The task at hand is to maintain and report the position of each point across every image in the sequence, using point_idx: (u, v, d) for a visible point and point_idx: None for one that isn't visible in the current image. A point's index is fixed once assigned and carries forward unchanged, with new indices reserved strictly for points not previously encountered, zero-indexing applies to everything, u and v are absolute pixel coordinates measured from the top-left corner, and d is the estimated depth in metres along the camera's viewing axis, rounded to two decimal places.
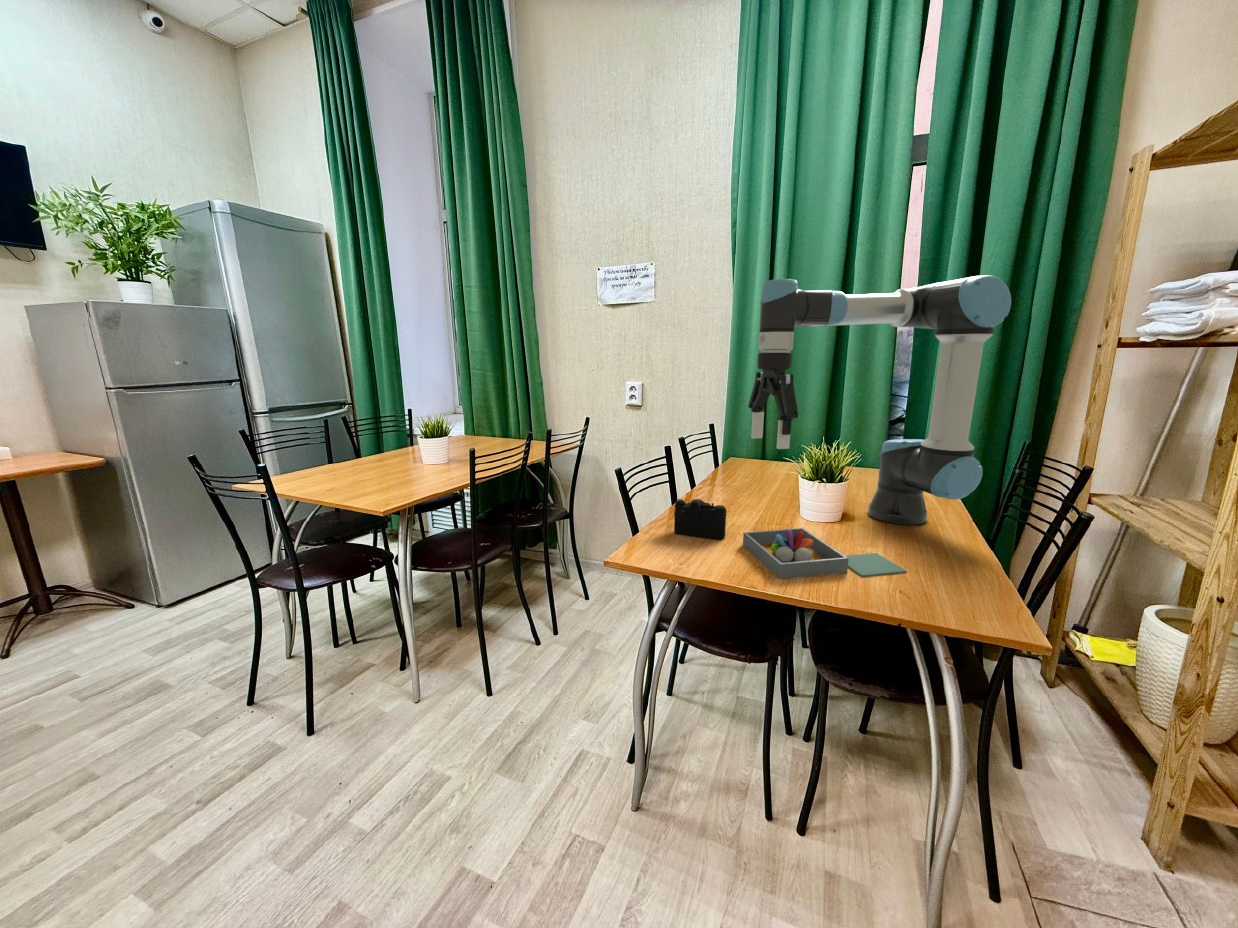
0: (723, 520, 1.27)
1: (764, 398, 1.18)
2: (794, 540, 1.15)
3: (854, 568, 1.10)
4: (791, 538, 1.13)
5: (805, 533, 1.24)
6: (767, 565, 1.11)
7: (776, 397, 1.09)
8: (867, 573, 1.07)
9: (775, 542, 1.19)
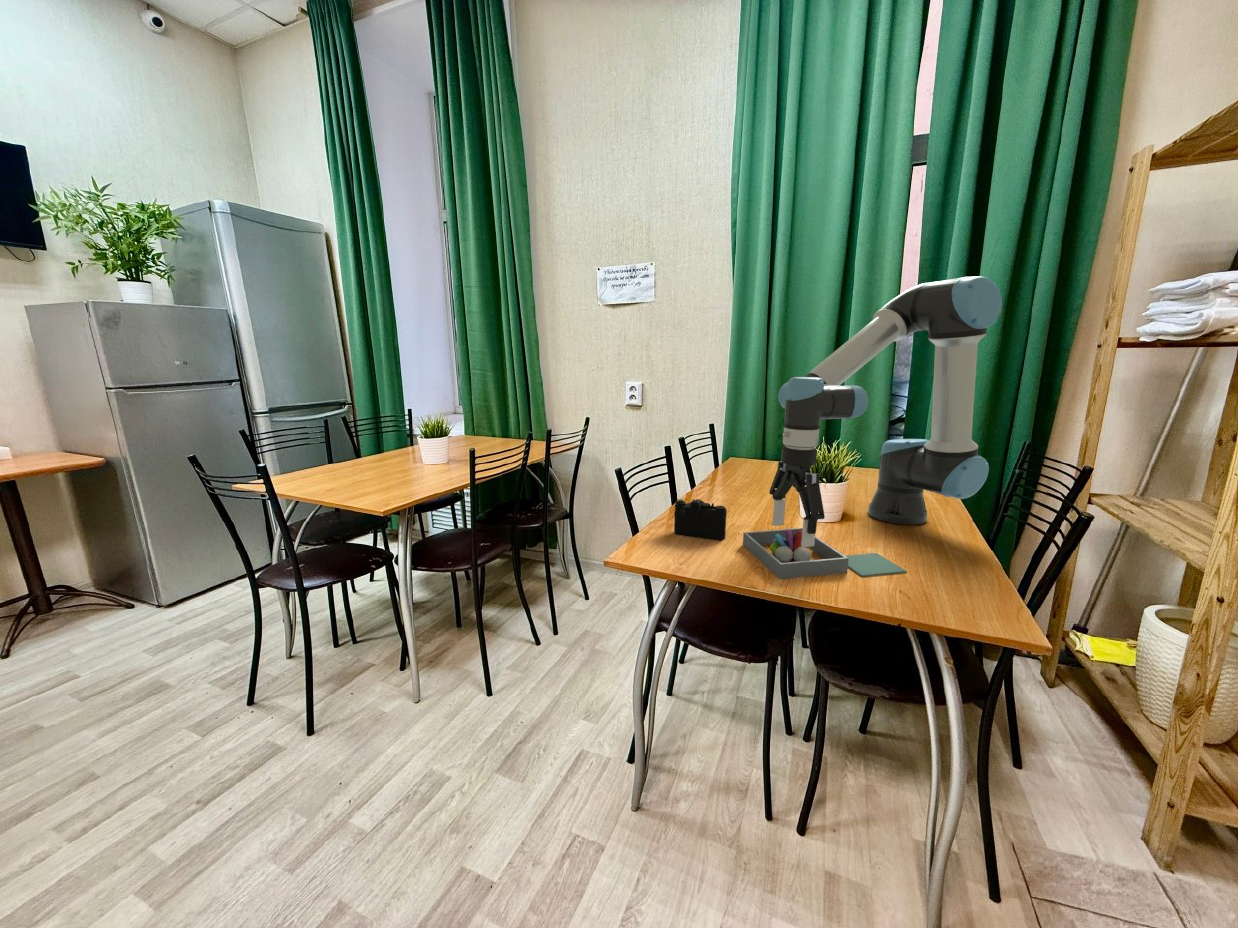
0: (723, 520, 1.27)
1: (787, 488, 1.17)
2: (793, 540, 1.16)
3: (854, 568, 1.10)
4: (790, 538, 1.14)
5: None
6: (767, 565, 1.11)
7: (801, 494, 1.08)
8: (867, 573, 1.07)
9: (774, 542, 1.19)
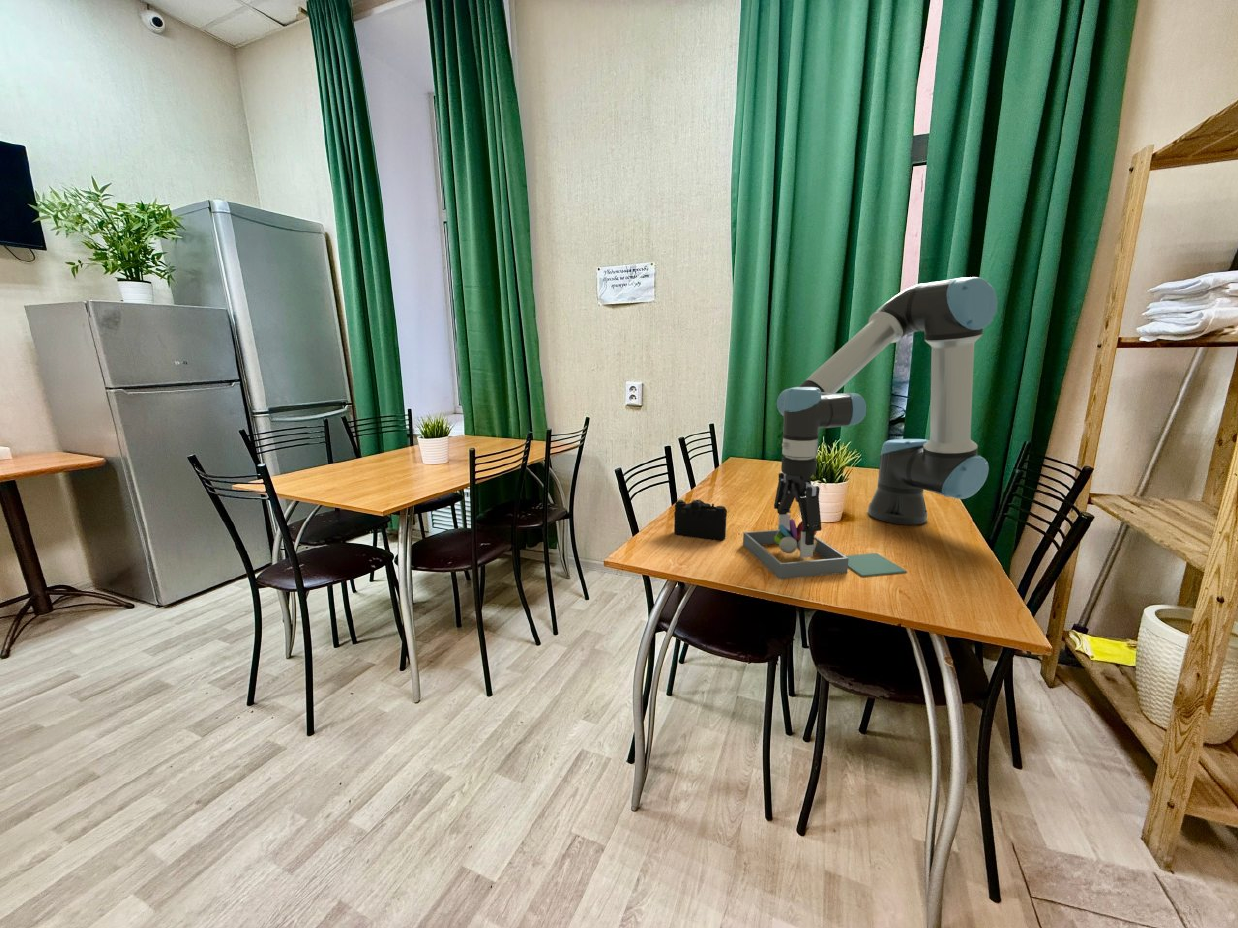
0: (723, 521, 1.26)
1: (790, 499, 1.17)
2: (797, 530, 1.15)
3: (854, 568, 1.10)
4: (794, 528, 1.13)
5: None
6: (767, 565, 1.11)
7: (800, 505, 1.09)
8: (867, 573, 1.07)
9: (778, 533, 1.18)
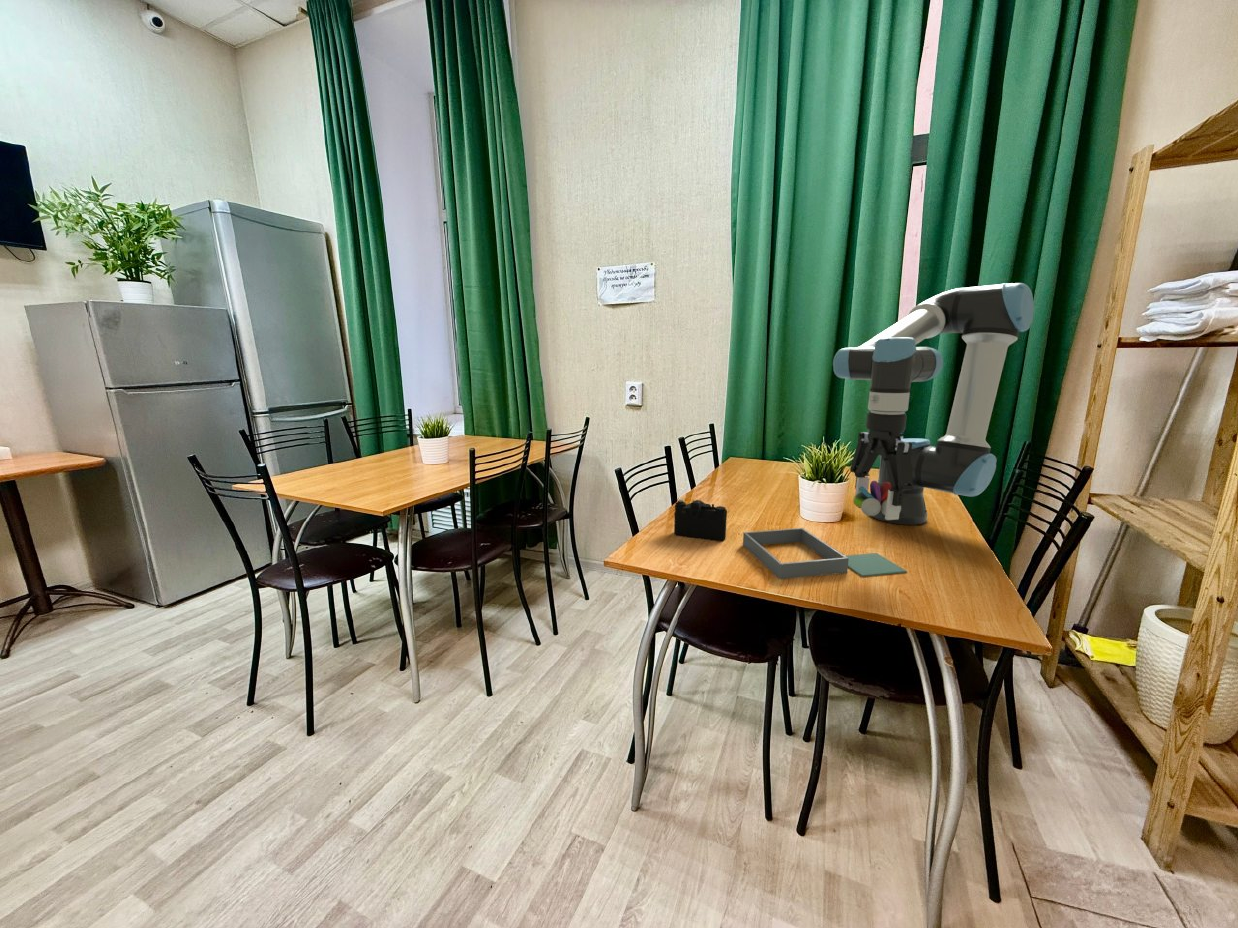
0: (724, 521, 1.26)
1: (871, 460, 1.10)
2: None
3: (854, 568, 1.10)
4: (878, 489, 1.06)
5: (805, 533, 1.24)
6: (767, 565, 1.11)
7: (888, 464, 1.03)
8: (867, 573, 1.07)
9: (857, 496, 1.11)
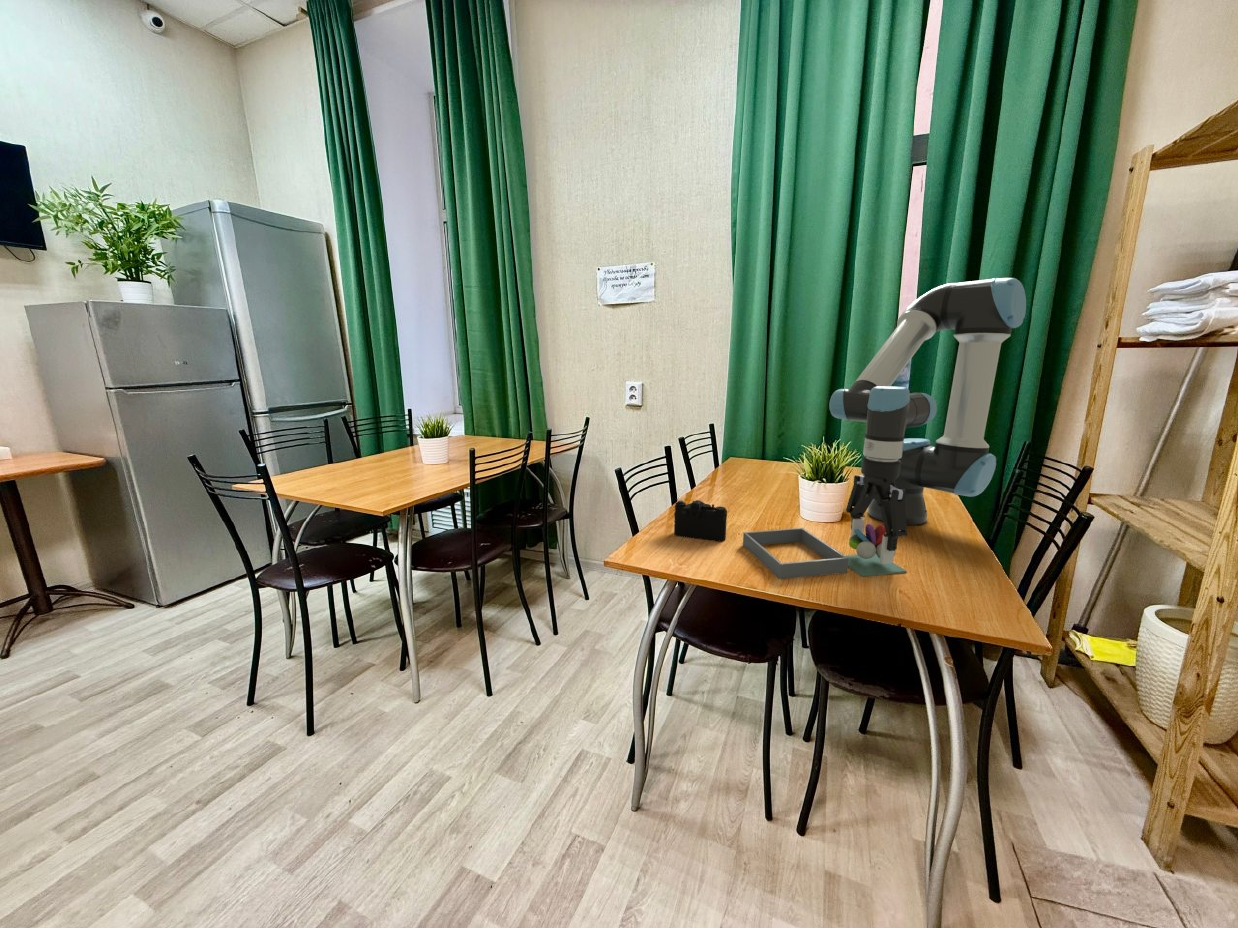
0: (724, 521, 1.26)
1: (866, 503, 1.12)
2: (874, 535, 1.10)
3: (854, 568, 1.10)
4: (873, 533, 1.08)
5: (805, 533, 1.24)
6: (767, 565, 1.11)
7: (883, 509, 1.05)
8: (867, 573, 1.07)
9: (852, 537, 1.14)
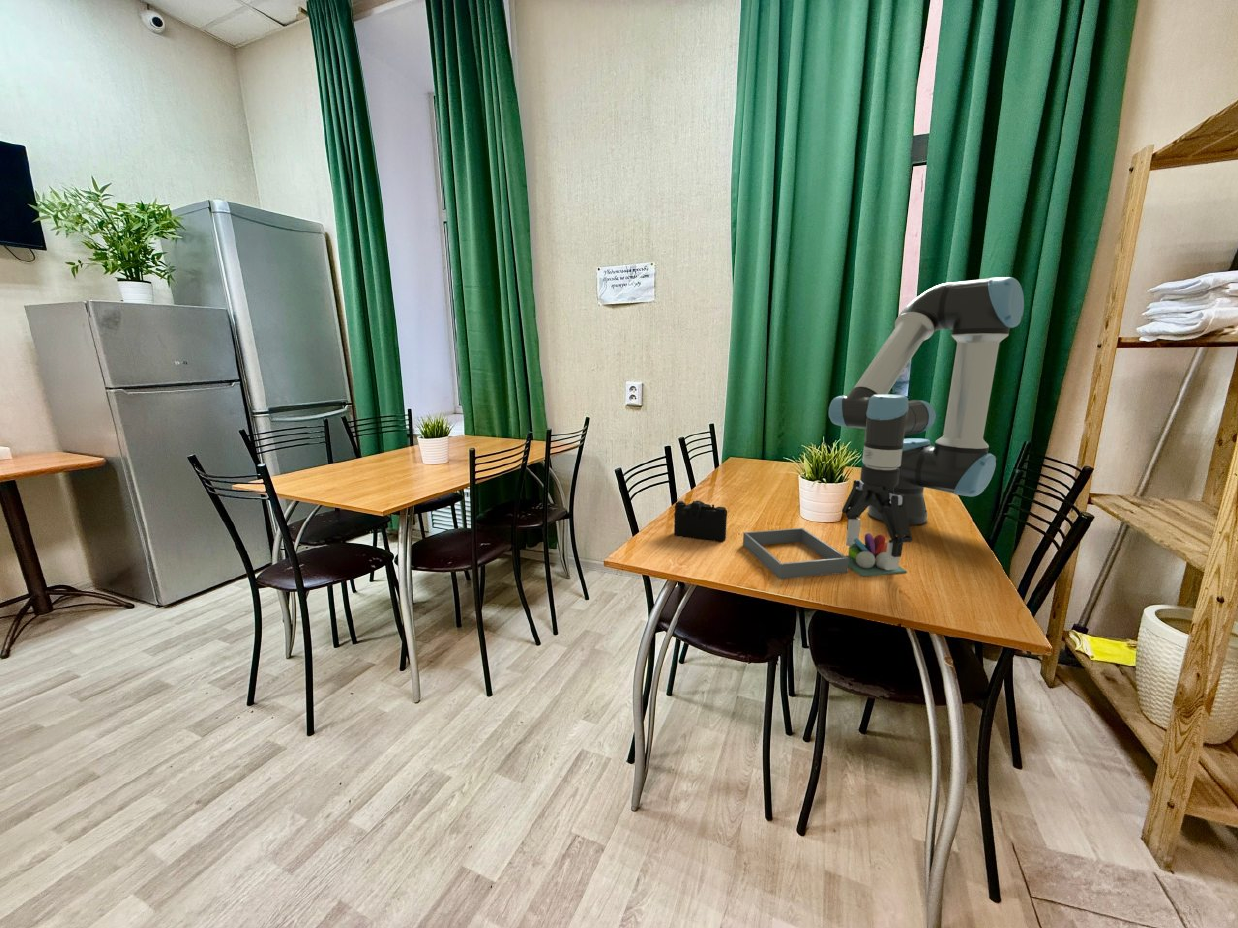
0: (724, 521, 1.26)
1: (863, 507, 1.13)
2: None
3: (854, 568, 1.10)
4: (872, 542, 1.09)
5: (805, 533, 1.24)
6: (767, 565, 1.11)
7: (884, 516, 1.05)
8: (867, 573, 1.07)
9: (852, 546, 1.14)
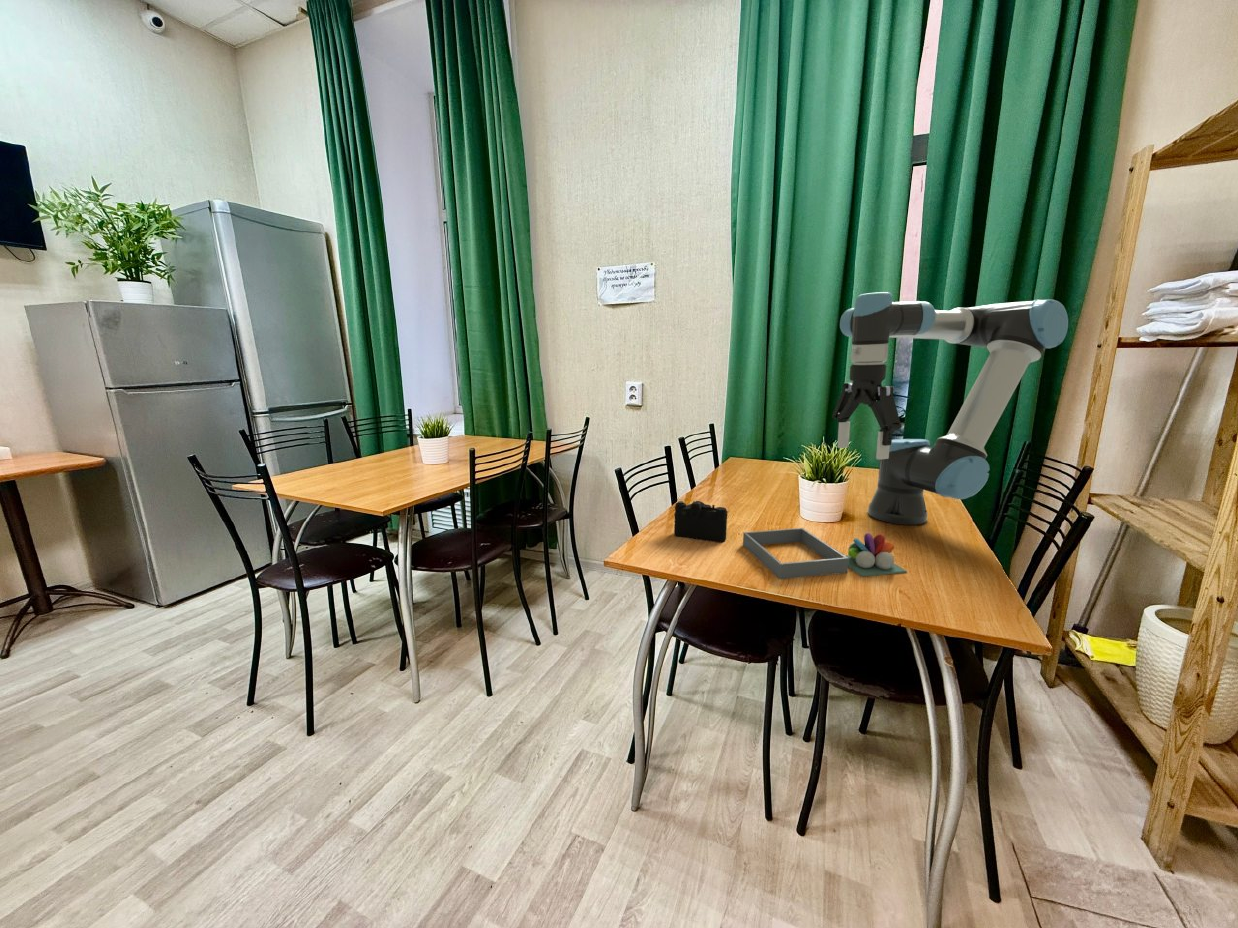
0: (724, 522, 1.25)
1: (853, 408, 1.20)
2: (873, 544, 1.11)
3: (854, 568, 1.10)
4: (872, 542, 1.09)
5: (805, 533, 1.24)
6: (767, 565, 1.11)
7: (874, 408, 1.11)
8: (867, 573, 1.07)
9: (851, 546, 1.14)
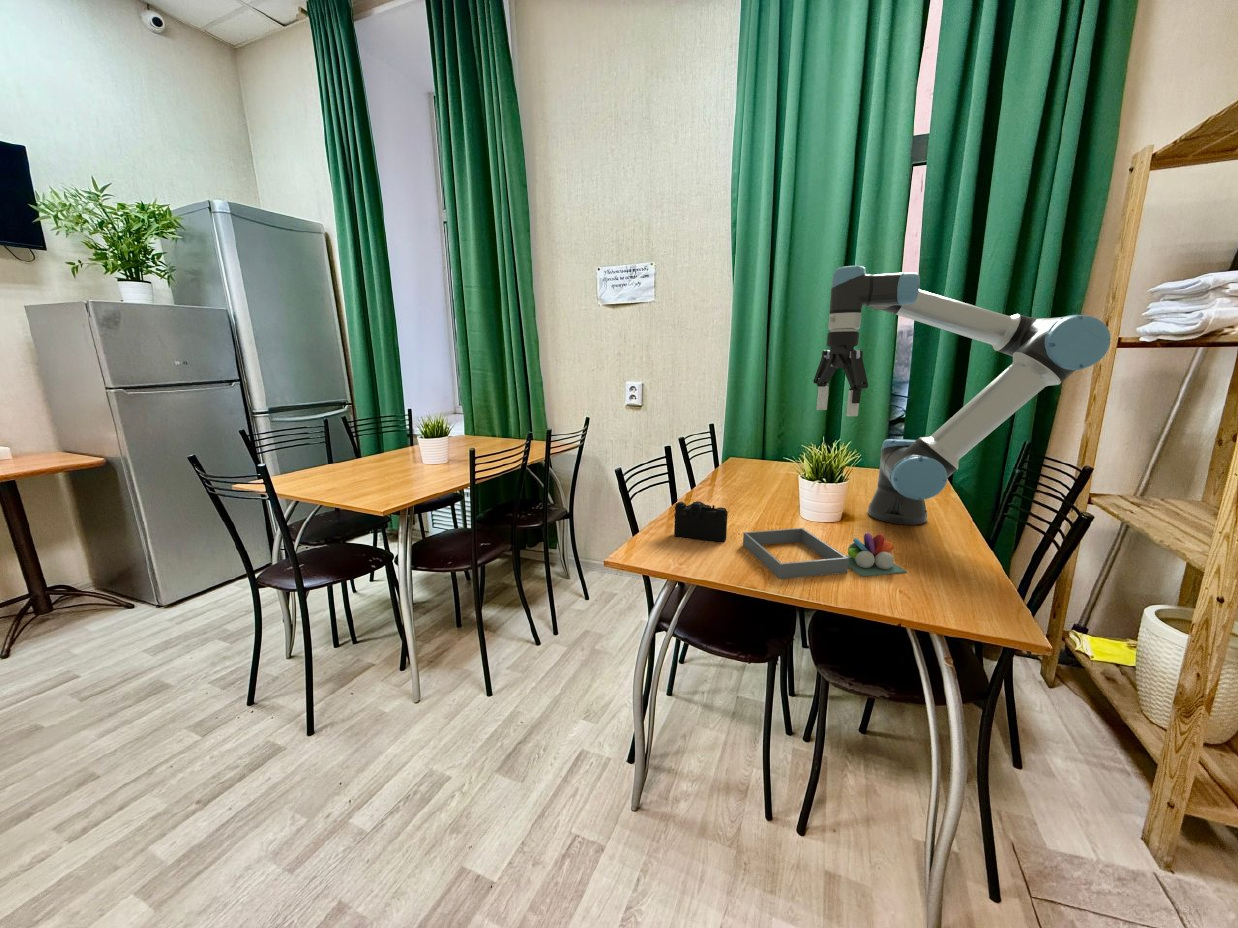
0: (724, 522, 1.25)
1: (830, 373, 1.33)
2: (873, 544, 1.11)
3: (854, 568, 1.10)
4: (872, 542, 1.09)
5: (805, 533, 1.24)
6: (767, 565, 1.11)
7: (846, 371, 1.24)
8: (867, 573, 1.07)
9: (851, 546, 1.14)
